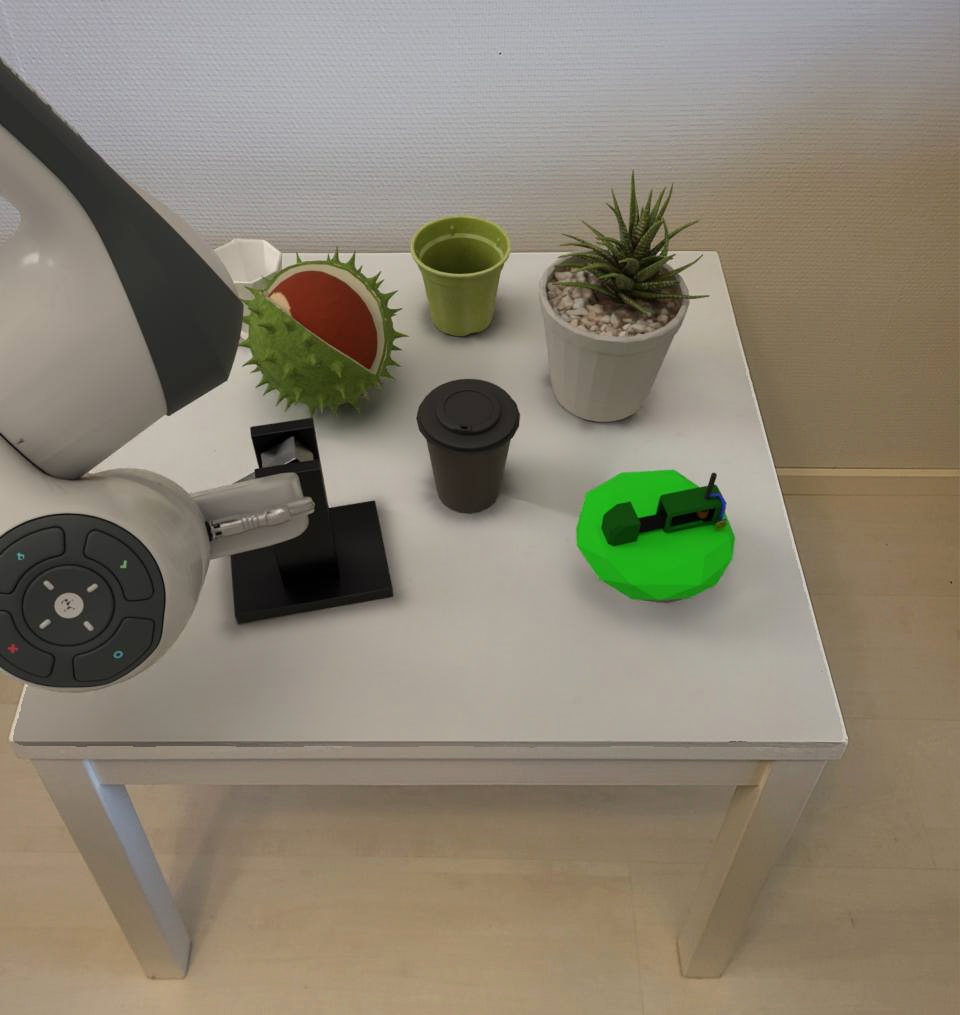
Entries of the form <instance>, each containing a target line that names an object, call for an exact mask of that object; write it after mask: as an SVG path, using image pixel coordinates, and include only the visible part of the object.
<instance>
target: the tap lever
mask: <svg viewBox="0 0 960 1015" xmlns="http://www.w3.org/2000/svg"><path fill="white" fill-rule="evenodd" d="M261 459H262V468H264V467H270V466H277V465H283V464H290V463H296V462H303V461H309V460H314V459H313V454H312V452H310V451H309V450H308V449H307V448H306V447H305V446H304V445H303V444H302V443H300V442H299V441H298V440H297V439H296V438H295V437H294V436H292V437H290V438H288V439H287V440H285V441H283V442H281V443H279V444H278V445H276V446H274V447H272V448H270V449H269V450H267V451H265V452H263V453H262V454H261ZM253 479H255V473H254V471H253V472H251V473H249V474H248V475H245V476H244V477H242V478H240V479H238V480H236V481H235V482H232V484H235V483H240V482H244V481H249V480H253Z"/></svg>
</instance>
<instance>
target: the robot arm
mask: <svg viewBox="0 0 960 1015" xmlns="http://www.w3.org/2000/svg"><path fill="white" fill-rule="evenodd" d="M0 196H1V197H2V198H3V199H5V200H6V201H7V202H8V203H9V204H10V205H11V206H12V207H14V209H16V210H17V211H18V213H19V214H20V223H19V224H18V227H17V229H16V230H15V232H14V233H13V234H12V235H11V236H10V237H9V238H8V239H7V240H6V241H4V242H3V243H2V244H0V672H1V673H3V674H4V675H6V676H7V677H9V678H11V679H12V680H14V681H17V682H18V683H21V684H24V685H27V686H30V687H32V688H36V689H39V690H43V691H49V692H56V693H68V694H80V693H82V694H83V693H89V692H96V691H100V690H105V689H107V688H110V687H114V686H117V685H119V684H123V683H124V682H127V681H129V680H131V679H133V678H135V677H137V676H138V675H140V674H142V673H144V672H146V671H147V670H148V669H150V668H151V667H152V666H154V665H155V664H157V662H158V661H159V660H161V658H163V657H164V656H165V655H166V654H167V652H168V651H169V650H170V649H171V648H172V647H173V645H175V643H176V642H177V641H178V639H179V638H180V636H181V635H182V634H183V632H184V630H185V628H186V627H187V625H188V624H189V622H190V620H191V618H192V616H193V613H194V612H195V609H196V607H197V604H198V602H199V599H200V594H201V591H202V588H203V586H204V584H205V580H206V577H207V574H208V571H209V568H210V564H211V563H210V562H211V561H212V560H216V559H220V558H225V557H228V556H229V557H230V555H233V554H237V553H242V552H246V551H250V550H254V549H258V548H263V547H267V546H271V545H274V544H277V543H281V542H283V541H287V540H290V539H292V538H295V537H297V536H299V535H301V534H302V533H303V532H304V531H305V530H306V528H307V527H308V524H309V519H308V515H307V514H311V513H313V512H314V507H315V504H314V502H313V501H312V499H311V498H310V497H303V493H302V489H301V485H300V481H299V477H298V475H297V474H296V473H281V474H276V475H271V476H267V477H262V478H258V479H253V480H249V481H244V482H240V483H235V482H234V483H235V484H233V483H231V484H227V485H222V486H217V487H213V488H209V489H204V490H199V491H195V492H190V493H189V492H188V491H187V490H186V489H185V488H184V487H182V486H181V485H180V484H178V483H177V482H175V481H174V480H172V479H171V478H169V477H167V476H164V475H163V474H161V473H157V472H154V471H152V470H148V469H142V468H137V467H118V468H111V469H106V470H102V471H98V472H95V473H90V471H92V470H93V469H94V468H96V467H97V466H99V465H100V464H101V463H102V462H104V461H106V459H108V458H109V457H111V456H112V455H113V454H115V453H116V452H118V451H119V450H120V449H121V448H123V447H124V446H126V445H127V444H128V443H129V442H131V441H132V440H133V439H135V438H136V437H138V436H139V435H141V433H143V432H144V431H146V430H147V429H148V428H150V427H151V426H153V425H154V424H155V423H156V422H158V421H159V420H161V419H162V418H163V417H164V416H167V417H170V416H172V415H173V414H175V413H177V412H178V411H180V410H182V409H183V408H185V407H187V406H188V405H190V404H192V403H193V402H195V401H197V400H198V399H200V398H201V397H203V396H205V395H206V394H208V393H209V392H211V391H213V390H214V389H216V388H217V387H219V386H222V385H223V384H224V383H226V382H228V380H229V378H230V374H231V373H232V369H233V366H234V363H235V359H236V356H237V353H238V350H239V349H238V348H239V346H238V345H239V343H240V340H241V336H240V335H241V329H242V322H243V310H244V304H243V303H242V302H241V300H240V299H239V296H238V293H237V290H236V287H235V285H234V282H233V280H232V278H231V276H230V274H229V273H228V271H227V269H226V267H225V266H224V264H223V263H222V261H221V260H220V258H219V257H218V256H217V254H216V253H215V252H214V249H213V248H212V247H211V245H210V244H209V243H208V241H206V240H205V238H204V237H203V236H202V235H201V234H200V233H199V232H198V231H197V230H196V229H195V228H194V227H193V226H191V224H190V223H188V222H187V221H186V220H185V219H184V218H183V217H181V215H179V214H178V213H177V212H175V211H174V210H173V209H172V208H171V207H169V206H168V205H167V204H165V203H164V202H163V201H161V200H160V199H158V198H157V197H156V196H154V195H153V194H151V193H150V192H148V191H147V190H146V189H144V188H143V187H142V186H140V185H139V184H137V183H135V181H133V180H132V179H130V178H129V177H128V176H126V175H124V174H123V173H121V171H119V170H118V169H117V168H115V167H113V166H112V165H111V164H110V163H108V162H107V161H106V160H105V159H104V158H103V157H102V156H101V155H100V154H99V153H98V152H97V151H96V150H94V148H92V146H90V145H89V144H88V143H87V142H86V140H85V139H84V138H83V136H81V134H80V133H79V132H78V131H77V129H76V128H75V127H74V126H72V125H71V124H70V123H69V122H68V121H67V120H66V119H65V117H64V116H63V115H61V114H60V113H59V112H58V111H57V110H56V109H55V108H54V107H53V105H52V104H50V103H49V102H48V101H47V100H45V98H44V97H42V96H41V95H40V94H39V92H38V91H37V90H36V89H35V88H34V87H33V86H32V85H31V84H30V83H28V82H27V81H26V80H25V78H23V76H21V74H19V73H17V72H16V70H15V68H13V67H12V66H10V65H9V64H8V62H7V61H6V60H5V59H4V58H3V57H2V56H1V55H0Z"/></svg>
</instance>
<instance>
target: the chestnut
mask: <svg viewBox="0 0 960 1015" xmlns="http://www.w3.org/2000/svg"><path fill="white" fill-rule="evenodd" d="M295 254H296V263H295V264H292V265H288V266H286V267H284V268H282V270H281V271H279V272H278V273H276V275H275V276H274V277H273V279H272V280H271V281H269V280H267V279H265V278H264V277H263V276H261V277H262V278H263V280H264V281H265V283H266V284H267V286H266V288H265V289H264V290H263V289H253V288H250V287H246V286H244V287H245V288H247V289H248V290H249V291H250V292H251V293H252V294H253V295H254V296H255V298H254V299H253V300H243V299H240V298H239V299H240V300H241V301H242V302H243V303H245V304H246V305H247V306H248V307H249V308H247V309H249V310H251V312H250V315H248V316H243V323H245V324H247V325H249V335H248V338H247V339H246V340H244V341H241V342H239V345H238V347H244V348H247V349H249V350H250V352H251V355H252V357H251V358H249V360H247V361H246V362H245V363H244V364H242V366H241V367H242V368H243V367H246V366H252V365H256V367H255V368H254V369H253V370H251V371H250V372H249V374H253V373H257V372H260V373H261V374H262V376H261V377H262V378H261V380H260V381H259V383H258V384H257V385H256V386H255V389H257V388H259V387H262V386H264V385H266V384H267V386H266V389H265V390H264V392H263V394H262V397H264V396H266V395H267V394H268V393H270V392H271V391H275V390H276V391H277V392H278V397H277V401H276V405H275V407H277V406H278V405H279V404H280V403H281V402H282V401H284V399H286V407H285V409H284V413H286V412H287V411H288V410H289V409H290V407H291V406H292V405H293V404H294V406H296V405H297V404H298V403H301V404H304V405H306V406H307V407H308V411H309V418H313V416H314V414H315V411H316V409H317V408H318V407H319V410H320V414H323V413H324V409H325V407H329V408H330V409H331V410H332V412H333V414H334V417H335V420H336V421H337V420H338V408H339V405H341V404H343V405H344V406H345V407H346V408H347V403H349V404H350V405H351V406H352V407H353V408H354V409H355V410H356V411H357V412H358V414H359V415H361V411H360V406H359V403H358V402H359V398H360V397H361V398H362V399H363V401H364V402H365V403H367V402H368V401H367V400H369V395H368V393H367V391H369V390H370V389H371V388H372V387H374V388H376V389H379V391H381V392H384V390H383V389H382V388H381V386H380V384H381V385H383V382H382V381H381V380H380V378H382V377H385V378H388V379H392V380H393V381H398V379H396V377H394V376H393V375H392V374H391V373H390V372H389V371H388V369H387V367H389V366H392V367H393V366H394V367H399V368H403V367H402V365H400V364H399V363H397V362H396V361H394V360H393V358H392V357H391V353H392V352H393V351H394V352H395V351H403V349H402V348H400V347H399V346H396V345H395V344H394V341H395V340H396V339H401V338H408V337H410V335H407V334H405V333H402V332H399V331H397V330H395V328H394V322H393V320H392V317H395V316H397V315H398V314H397V312H400V311H402V310H403V307H399V308H390V307H388V306H389V305H388V304H389V301H390V299H392V297H393V296H394V295H395V294H397V292H399V290H398V289H397V290H394V291H391V292H388V293H383V292H380V290H379V288H380V286H381V285H382V284H383V282H385V279H384V278H383V279H382V280H379V281H378V279H379V277H380V275H381V273H382V271H381V270H379V272H378V273H377V274H376V275H373V276H372V277H367V276H366V275H364V273H362V268H363V265H360V267H359V268H358V269H357V268H356V265H355V263H356V250H354V252H353V254H352V256H351V257H350V259H349V260H348V261H347V262H345V263H344V262H342V261H340V259H339V258H340V256H339V245H336V248H335V252H334V254H333V257H332V258H331V257H330V253H329V252H328V253H327V258H326V260H320V259H319V260H304V261H302V259H301V258H300V256H299V253H298V252H297V251H296V253H295ZM377 281H378V282H377Z"/></svg>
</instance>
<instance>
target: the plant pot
mask: <svg viewBox="0 0 960 1015" xmlns="http://www.w3.org/2000/svg"><path fill="white" fill-rule="evenodd" d="M409 245H410V247H409V248H410V255H411V257H412V260H413V261H414V262H415V264H416V265H417V267H418V269H419V271H420V272H421V276H422V282H423V285H424V290H425V294H426V299H427V303H428V309H429V313H430V317H431V320H432V322H433V324H434V325H435V327H436V328H437V329H438V330H439V331H441V332H442V333H445V334H447V335H450V336H455V337H467V336H468V335H471V334H473V333H481V332H484V331H485V330H486V329H488V327H489V326H490V325H491V323H492V321H493V317H494V311H495V307H496V306H495V305H496V300H497V296H498V289H499V284H500V277H501V273H502V270H503V268H504V266H505V264H506V262H507V261H508V259H509V257H510V255H511V252H512V241H511V238H510V236H509V235H508V233H507V231H506V230H504V229H503V227H502V226H499V225H498V224H497V223H495V222H494V221H492V220H490V219H486V218H484V217H479V216H475V215H466V214H457V215H449V216H443V217H439V218H435V219H432V220H431V221H428V222H426V223H425V224H424V225H422V226H421V227H419V228H418V229H417V230H416V232H414V234H413V235H412V237H411V240H410V244H409Z"/></svg>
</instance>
